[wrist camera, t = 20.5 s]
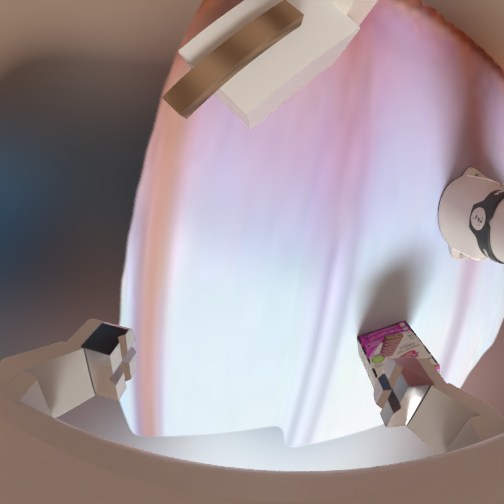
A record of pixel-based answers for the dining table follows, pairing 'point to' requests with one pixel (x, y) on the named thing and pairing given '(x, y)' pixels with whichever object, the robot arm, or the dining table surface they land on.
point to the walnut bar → (232, 57)
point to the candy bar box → (390, 348)
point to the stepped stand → (280, 52)
